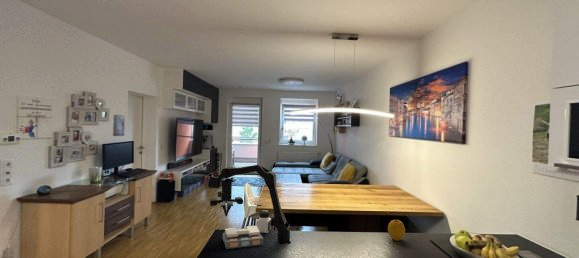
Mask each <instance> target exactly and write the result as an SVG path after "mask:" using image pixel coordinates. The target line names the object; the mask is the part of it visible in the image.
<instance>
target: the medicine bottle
mask: <svg viewBox="0 0 579 258" xmlns="http://www.w3.org/2000/svg"><path fill="white" fill-rule="evenodd" d="M256 226H257V228H258V229H259V231H260V233H262V234H264V233H265V234H269V232H270V231H271V230H272V217H270V212H269V211H268V210H260V211H259V218H258V219H257V220H256Z"/></svg>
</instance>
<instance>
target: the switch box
mask: <svg viewBox="0 0 579 258" xmlns="http://www.w3.org/2000/svg"><path fill="white" fill-rule="evenodd" d="M222 240H223V243H224V246H225V249H226V250H228V249H236V248H237V249H238V248H246V247H255V246H263V245H264V237H263V236H262V234H261V233H260V235H250V236H249V234H244V235H238V236H237V237H227V236H226V233H225V232H223V233H222Z"/></svg>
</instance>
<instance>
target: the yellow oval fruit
mask: <svg viewBox="0 0 579 258" xmlns="http://www.w3.org/2000/svg"><path fill="white" fill-rule="evenodd" d="M387 232H388V235H389V237H391V238H390V239H392V240H394V241H397V242H398V241H401V240H402V239H403V238H404V237H405V233H406V227H405V225H404V223H403V222H402V221H401V220H399V219H393V220H390V222H389V223H388V225H387Z"/></svg>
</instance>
